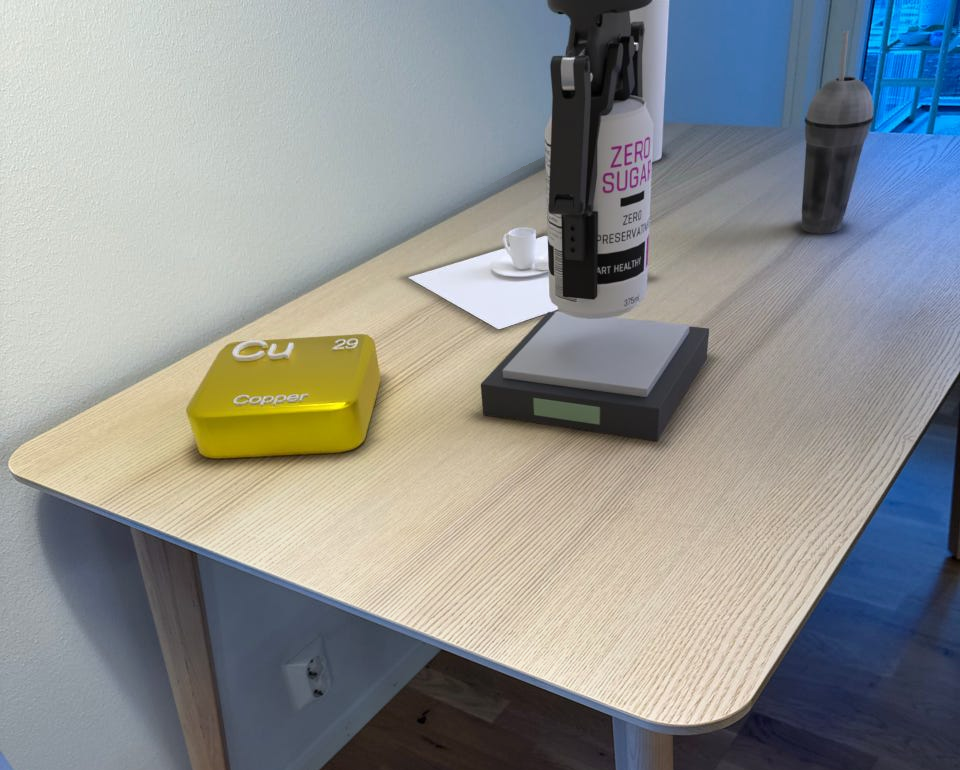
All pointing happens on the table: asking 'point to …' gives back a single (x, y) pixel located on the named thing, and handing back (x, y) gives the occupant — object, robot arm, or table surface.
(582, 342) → the scale
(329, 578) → the table surface
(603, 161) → the white drink can
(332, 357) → the element tile
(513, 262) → the teacup and saucer
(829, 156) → the beverage cup
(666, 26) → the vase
